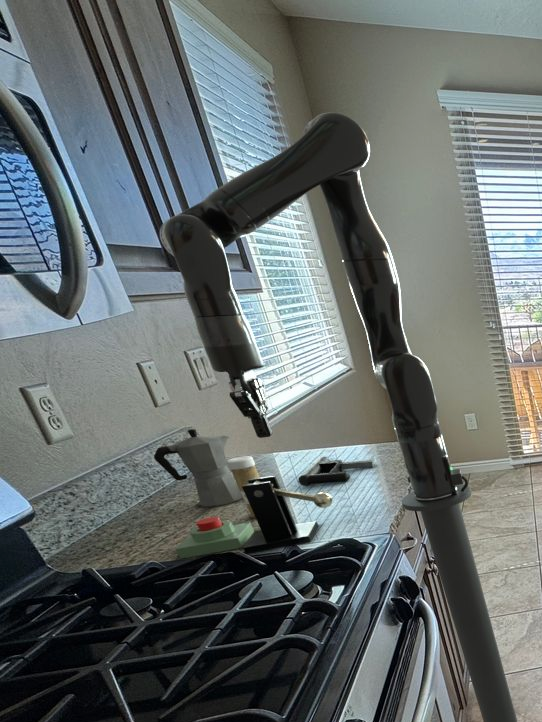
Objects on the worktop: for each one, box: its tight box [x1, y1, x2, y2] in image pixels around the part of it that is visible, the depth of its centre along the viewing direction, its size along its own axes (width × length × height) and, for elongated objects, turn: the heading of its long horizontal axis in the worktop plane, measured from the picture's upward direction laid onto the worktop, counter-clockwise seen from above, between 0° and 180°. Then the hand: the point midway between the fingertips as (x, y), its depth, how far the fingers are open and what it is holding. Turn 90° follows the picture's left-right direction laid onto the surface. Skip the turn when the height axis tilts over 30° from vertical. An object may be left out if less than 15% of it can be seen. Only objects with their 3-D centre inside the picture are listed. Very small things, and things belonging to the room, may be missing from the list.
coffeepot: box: [153, 428, 243, 508], centre depth 136 cm, size 15×9×18 cm, turn 158°
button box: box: [175, 520, 255, 560], centre depth 115 cm, size 10×9×4 cm
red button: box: [195, 516, 222, 531], centre depth 113 cm, size 4×4×2 cm
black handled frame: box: [296, 456, 375, 487], centre depth 155 cm, size 3×20×16 cm
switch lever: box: [253, 481, 333, 509], centre depth 114 cm, size 13×3×3 cm, turn 114°
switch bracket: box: [242, 474, 319, 554], centre depth 114 cm, size 11×9×13 cm
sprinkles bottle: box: [226, 455, 261, 519], centre depth 127 cm, size 5×5×14 cm
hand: (265, 436), depth 109 cm, fingers closed
